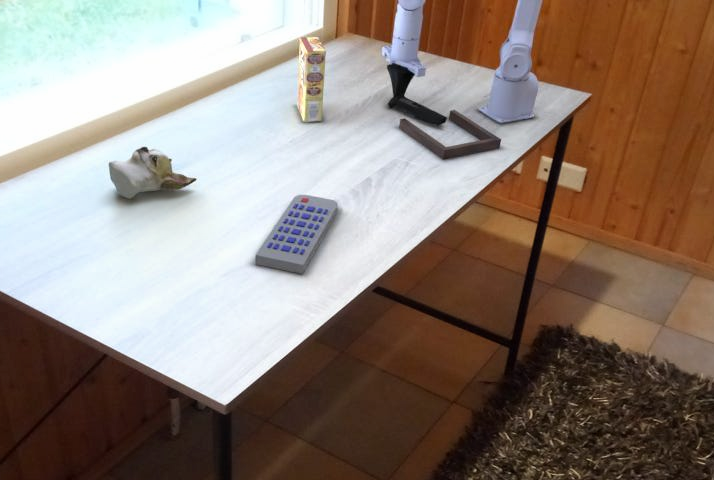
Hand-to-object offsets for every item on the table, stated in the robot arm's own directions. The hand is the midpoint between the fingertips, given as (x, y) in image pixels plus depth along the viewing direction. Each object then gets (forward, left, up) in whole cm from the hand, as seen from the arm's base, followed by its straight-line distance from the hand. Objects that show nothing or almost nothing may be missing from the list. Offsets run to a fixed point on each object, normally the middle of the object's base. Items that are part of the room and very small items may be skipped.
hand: (398, 97), depth 183 cm
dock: (0, +19, -1) cm, 19 cm away
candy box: (+21, -2, -2) cm, 22 cm away
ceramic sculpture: (+64, +18, -2) cm, 67 cm away
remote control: (+46, +43, -2) cm, 63 cm away
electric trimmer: (0, +8, -2) cm, 8 cm away
